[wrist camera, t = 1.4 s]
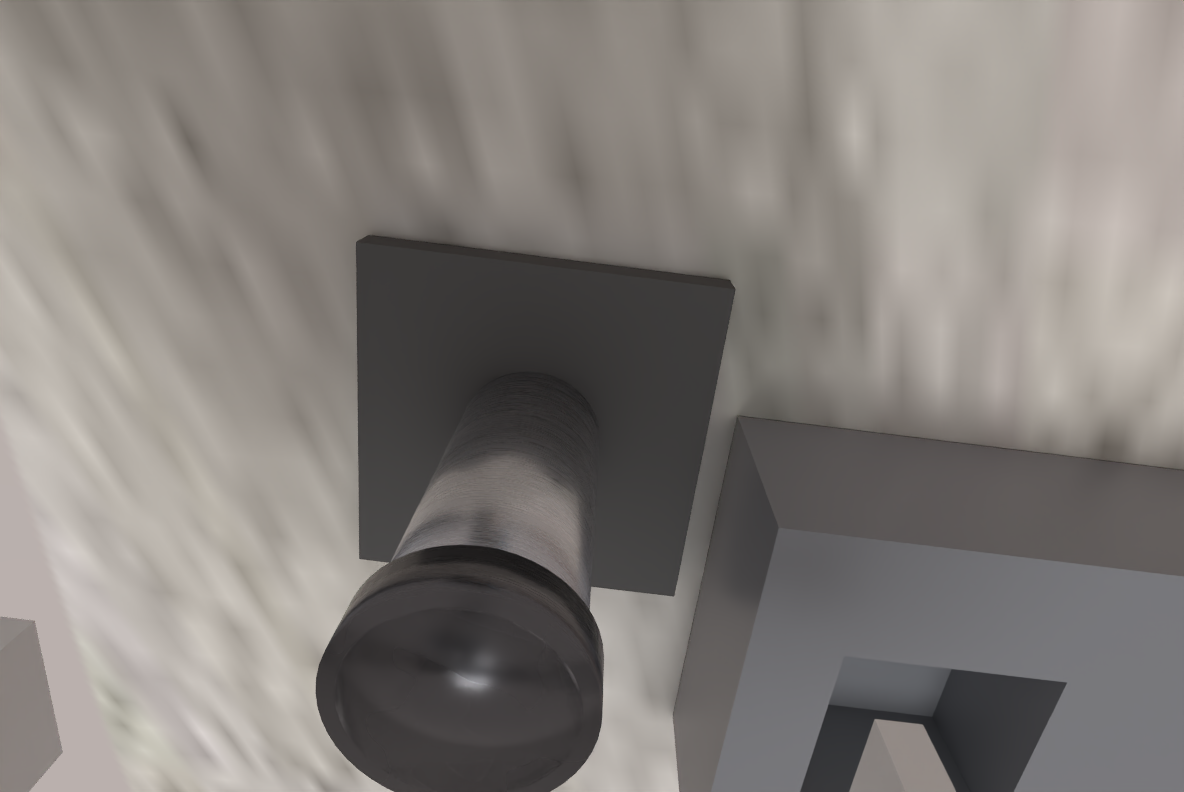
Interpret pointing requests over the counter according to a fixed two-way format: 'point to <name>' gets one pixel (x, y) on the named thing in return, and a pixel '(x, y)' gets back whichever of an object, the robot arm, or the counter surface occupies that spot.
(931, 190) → the counter surface
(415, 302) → the plate
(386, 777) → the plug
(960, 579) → the socket block
